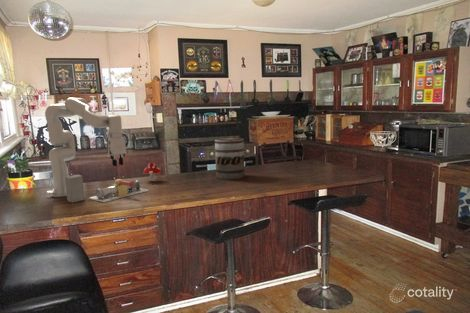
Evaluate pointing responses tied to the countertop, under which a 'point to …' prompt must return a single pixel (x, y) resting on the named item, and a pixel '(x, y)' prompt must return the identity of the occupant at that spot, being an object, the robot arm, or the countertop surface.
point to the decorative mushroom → (152, 171)
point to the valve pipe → (117, 192)
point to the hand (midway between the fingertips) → (118, 165)
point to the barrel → (229, 158)
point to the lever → (124, 182)
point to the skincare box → (74, 188)
